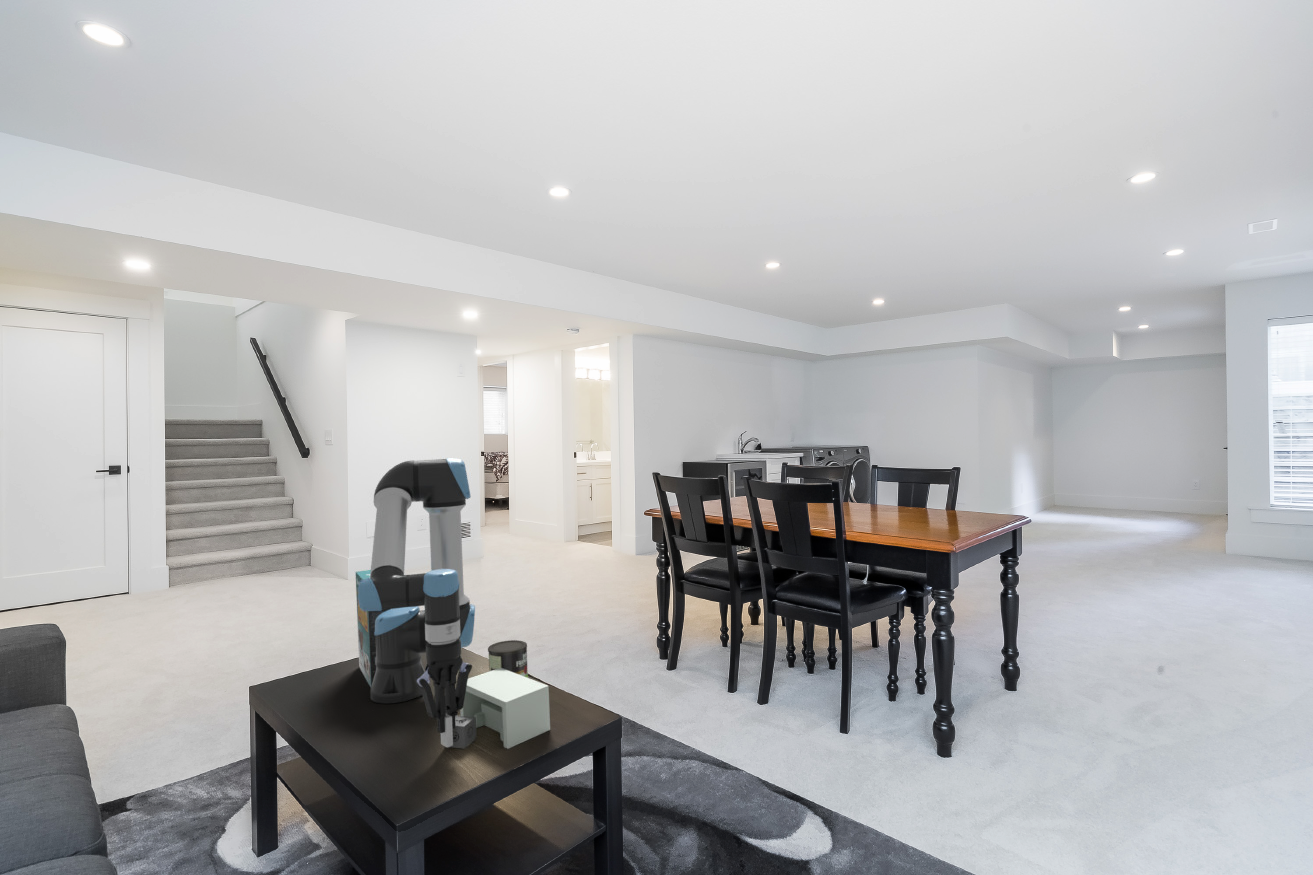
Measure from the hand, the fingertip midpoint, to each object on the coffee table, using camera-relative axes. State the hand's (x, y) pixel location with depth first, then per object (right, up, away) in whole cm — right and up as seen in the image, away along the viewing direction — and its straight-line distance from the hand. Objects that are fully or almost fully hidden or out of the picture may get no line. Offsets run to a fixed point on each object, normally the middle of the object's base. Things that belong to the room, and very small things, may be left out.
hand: (446, 744), depth 145 cm
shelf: (+10, -1, +11) cm, 15 cm away
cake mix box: (-38, -3, +50) cm, 63 cm away
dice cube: (+2, -2, +4) cm, 5 cm away
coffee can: (+7, -1, +29) cm, 30 cm away
